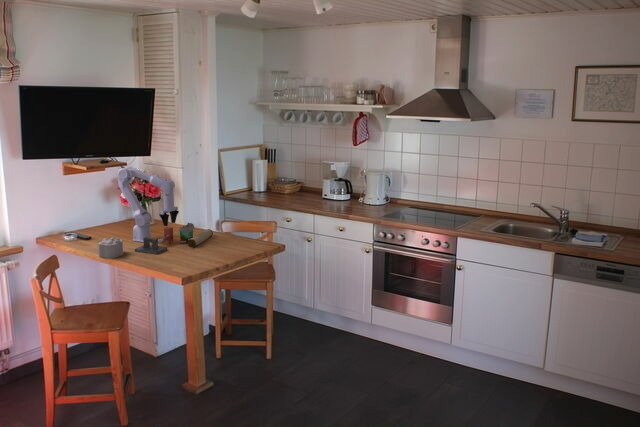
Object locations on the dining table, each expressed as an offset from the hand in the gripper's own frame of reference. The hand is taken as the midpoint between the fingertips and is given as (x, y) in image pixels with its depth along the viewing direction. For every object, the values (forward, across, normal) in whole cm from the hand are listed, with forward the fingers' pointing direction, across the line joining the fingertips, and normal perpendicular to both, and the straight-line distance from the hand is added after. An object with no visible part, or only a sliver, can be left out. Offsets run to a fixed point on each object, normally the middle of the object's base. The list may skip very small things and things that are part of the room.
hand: (169, 224), depth 346 cm
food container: (+11, +4, -10) cm, 15 cm away
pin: (+9, -8, -1) cm, 12 cm away
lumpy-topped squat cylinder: (+11, -34, +13) cm, 38 cm away
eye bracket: (+10, -20, -1) cm, 22 cm away
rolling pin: (+11, +7, -16) cm, 21 cm away
